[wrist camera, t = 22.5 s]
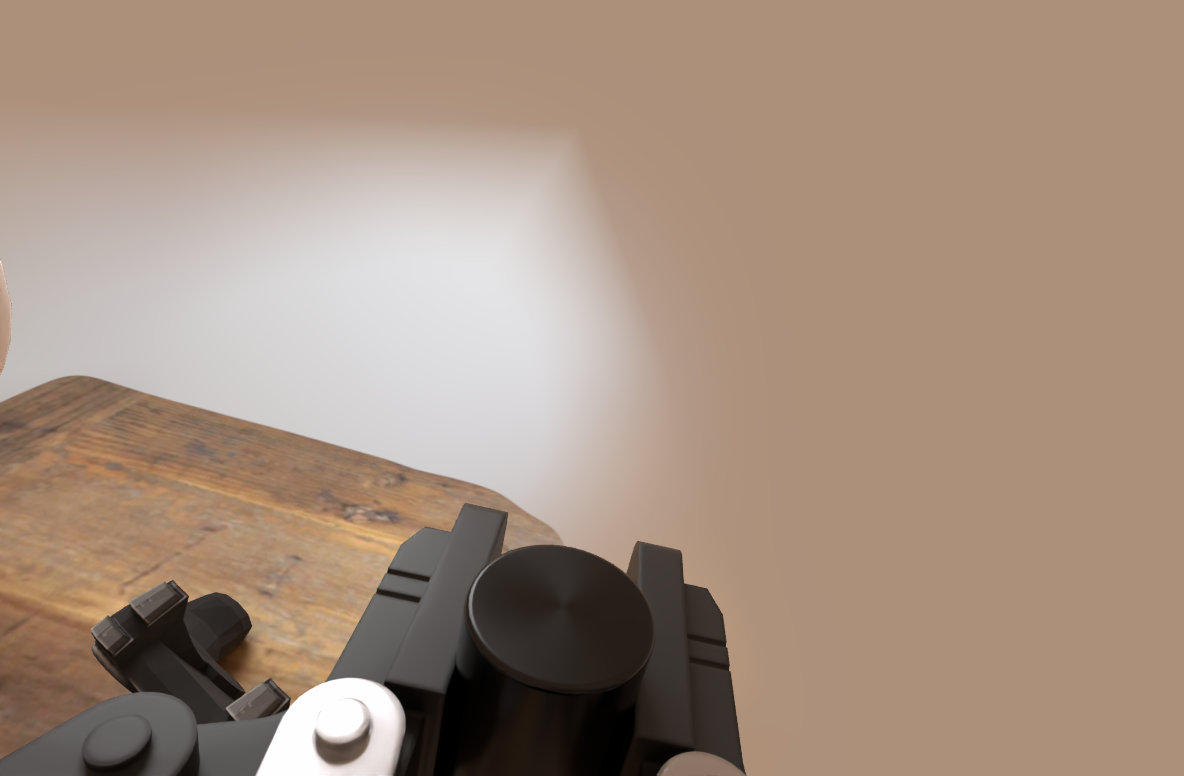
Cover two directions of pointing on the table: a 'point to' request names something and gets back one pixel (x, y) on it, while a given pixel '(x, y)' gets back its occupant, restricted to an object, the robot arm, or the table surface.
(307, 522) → the table surface
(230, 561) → the table surface
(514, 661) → the dark round peg
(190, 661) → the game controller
